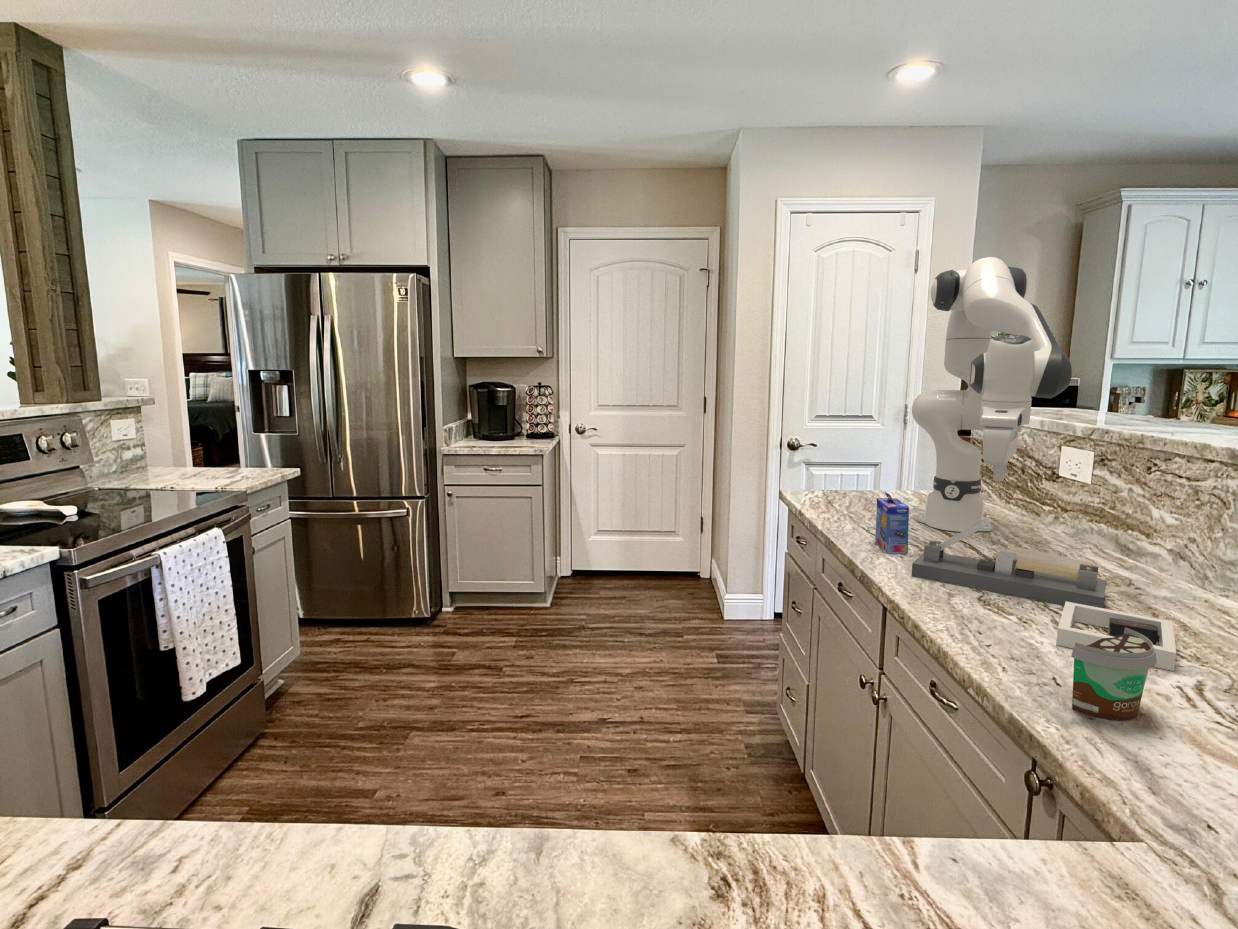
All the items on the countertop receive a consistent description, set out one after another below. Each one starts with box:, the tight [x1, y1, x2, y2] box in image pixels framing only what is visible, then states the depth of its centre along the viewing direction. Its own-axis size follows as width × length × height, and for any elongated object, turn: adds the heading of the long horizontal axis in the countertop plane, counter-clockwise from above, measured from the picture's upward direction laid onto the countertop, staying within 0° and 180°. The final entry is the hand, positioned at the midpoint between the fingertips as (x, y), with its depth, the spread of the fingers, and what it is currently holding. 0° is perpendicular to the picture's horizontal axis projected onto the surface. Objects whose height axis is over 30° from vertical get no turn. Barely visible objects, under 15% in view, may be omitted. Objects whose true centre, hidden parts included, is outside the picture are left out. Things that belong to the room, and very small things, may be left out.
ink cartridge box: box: [874, 491, 910, 555], centre depth 160 cm, size 10×6×14 cm, turn 174°
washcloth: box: [991, 546, 1094, 569], centre depth 146 cm, size 12×18×3 cm, turn 42°
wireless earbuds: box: [1107, 618, 1159, 646], centre depth 108 cm, size 5×7×3 cm, turn 56°
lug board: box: [911, 540, 1107, 608], centre depth 134 cm, size 12×34×6 cm, turn 51°
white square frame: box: [1056, 601, 1177, 672], centre depth 107 cm, size 15×15×3 cm
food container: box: [1070, 628, 1157, 722], centre depth 85 cm, size 12×6×10 cm, turn 114°
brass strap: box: [1016, 559, 1092, 579], centre depth 129 cm, size 3×13×2 cm, turn 51°
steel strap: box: [934, 520, 986, 551], centre depth 139 cm, size 3×13×2 cm
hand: (998, 480), depth 133 cm, fingers closed
